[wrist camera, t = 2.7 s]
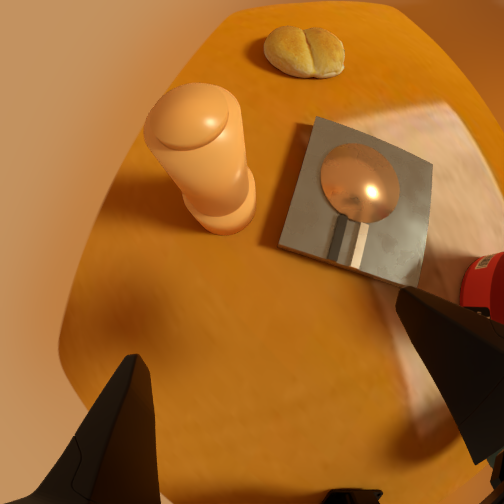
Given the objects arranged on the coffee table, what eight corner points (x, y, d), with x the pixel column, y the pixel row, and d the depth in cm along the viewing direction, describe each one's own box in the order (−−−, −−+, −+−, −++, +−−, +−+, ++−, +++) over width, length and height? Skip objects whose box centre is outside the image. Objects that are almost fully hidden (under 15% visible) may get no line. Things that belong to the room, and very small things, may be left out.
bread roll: (263, 38, 25) (263, 14, 21) (335, 43, 25) (341, 21, 21) (264, 80, 24) (264, 53, 20) (347, 86, 24) (357, 62, 20)
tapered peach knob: (244, 243, 22) (223, 178, 9) (186, 225, 22) (110, 152, 9) (263, 186, 22) (266, 79, 10) (207, 171, 23) (163, 66, 10)
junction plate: (407, 290, 21) (419, 289, 19) (277, 247, 21) (278, 242, 20) (425, 170, 22) (434, 162, 20) (313, 125, 23) (317, 113, 21)
